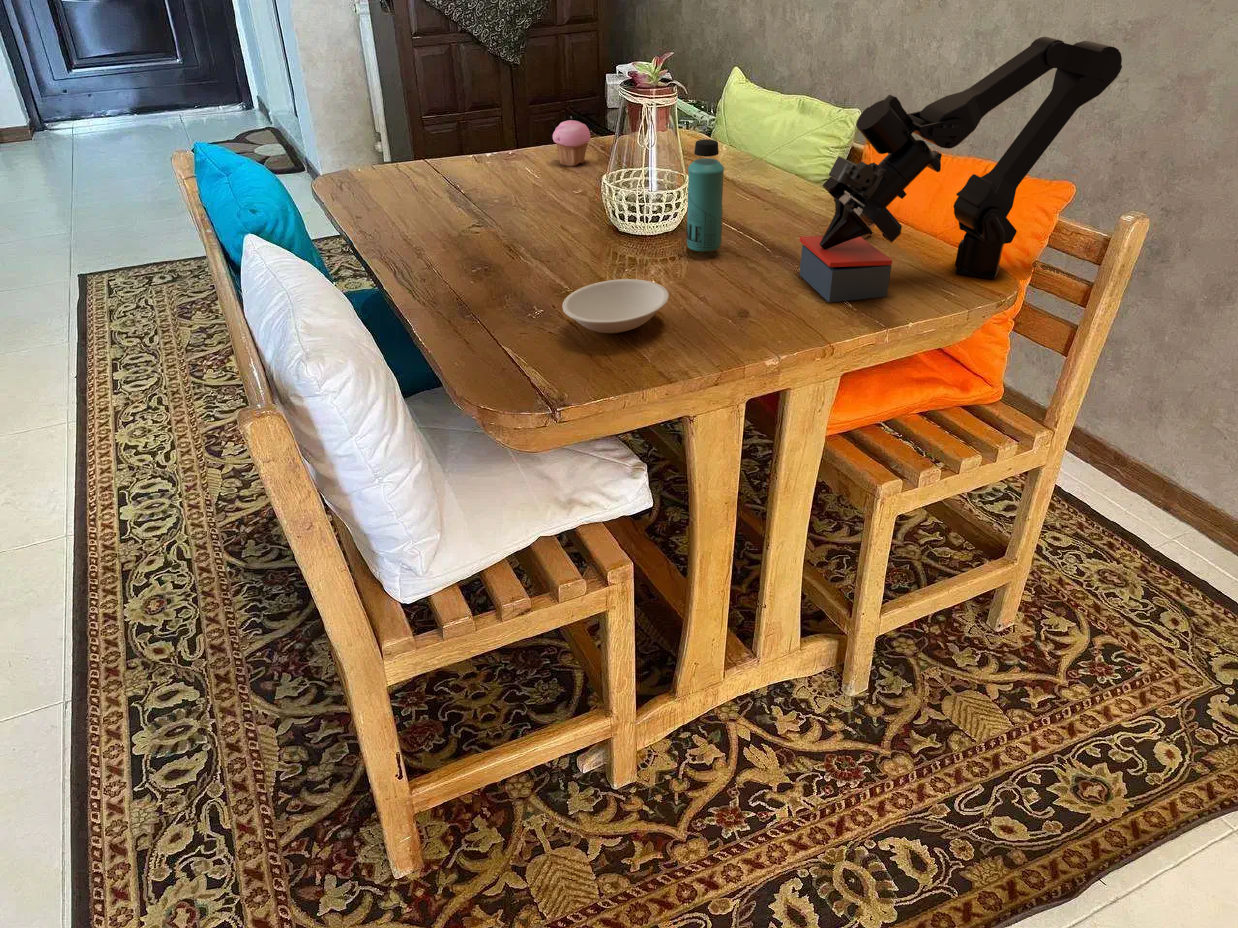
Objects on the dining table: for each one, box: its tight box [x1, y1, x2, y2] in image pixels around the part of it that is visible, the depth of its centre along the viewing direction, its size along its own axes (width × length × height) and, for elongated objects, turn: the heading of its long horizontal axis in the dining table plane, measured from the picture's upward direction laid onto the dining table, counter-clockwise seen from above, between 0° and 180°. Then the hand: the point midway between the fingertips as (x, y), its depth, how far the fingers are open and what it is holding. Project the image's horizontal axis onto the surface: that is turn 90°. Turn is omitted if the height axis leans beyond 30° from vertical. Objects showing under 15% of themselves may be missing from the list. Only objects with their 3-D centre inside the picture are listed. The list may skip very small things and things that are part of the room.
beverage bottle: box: [685, 138, 725, 252], centre depth 161 cm, size 6×7×20 cm
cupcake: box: [552, 119, 592, 167], centre depth 217 cm, size 9×9×10 cm
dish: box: [562, 278, 670, 334], centre depth 139 cm, size 18×14×5 cm
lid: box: [798, 235, 893, 267], centre depth 150 cm, size 11×13×1 cm
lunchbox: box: [798, 244, 892, 303], centre depth 152 cm, size 10×13×5 cm
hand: (821, 247), depth 149 cm, fingers closed, pressing on lid
